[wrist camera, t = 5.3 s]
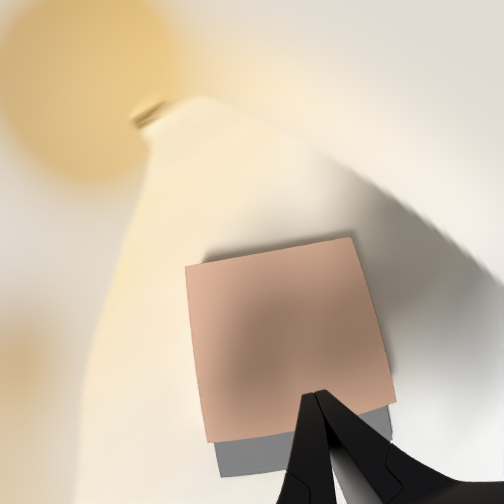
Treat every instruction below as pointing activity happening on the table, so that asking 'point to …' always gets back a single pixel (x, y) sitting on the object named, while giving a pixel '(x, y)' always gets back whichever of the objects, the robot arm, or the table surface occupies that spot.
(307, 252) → the tile
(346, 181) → the table surface
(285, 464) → the mat
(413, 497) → the robot arm
